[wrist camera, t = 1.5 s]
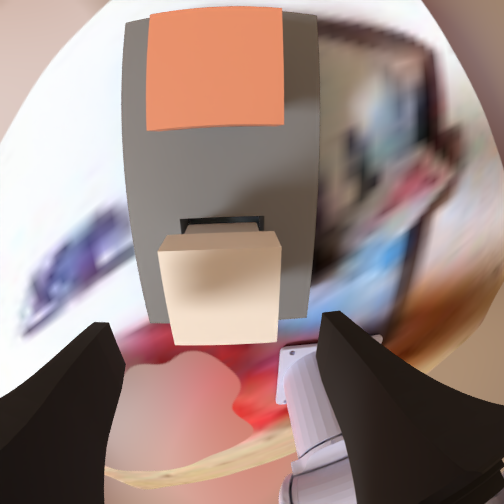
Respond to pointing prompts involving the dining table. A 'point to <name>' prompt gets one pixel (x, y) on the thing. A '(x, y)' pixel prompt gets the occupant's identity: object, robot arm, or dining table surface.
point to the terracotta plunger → (215, 68)
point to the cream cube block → (222, 284)
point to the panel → (226, 169)
